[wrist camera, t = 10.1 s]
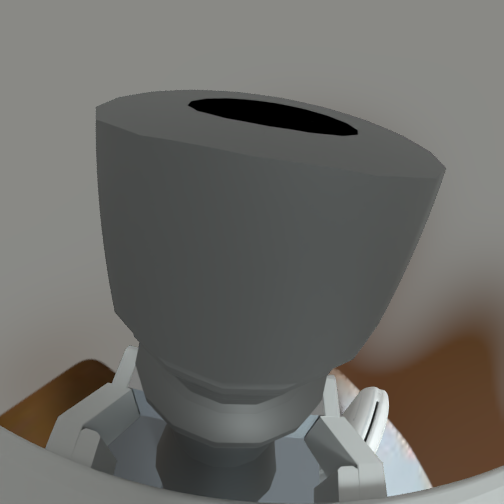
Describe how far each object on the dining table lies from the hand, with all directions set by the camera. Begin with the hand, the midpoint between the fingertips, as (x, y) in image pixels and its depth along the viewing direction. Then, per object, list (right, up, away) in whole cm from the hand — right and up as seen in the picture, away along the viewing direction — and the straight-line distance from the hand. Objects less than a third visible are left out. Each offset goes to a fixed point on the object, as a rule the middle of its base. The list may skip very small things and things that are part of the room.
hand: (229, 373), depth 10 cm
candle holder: (-2, -14, +9) cm, 17 cm away
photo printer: (+11, -22, +23) cm, 34 cm away
